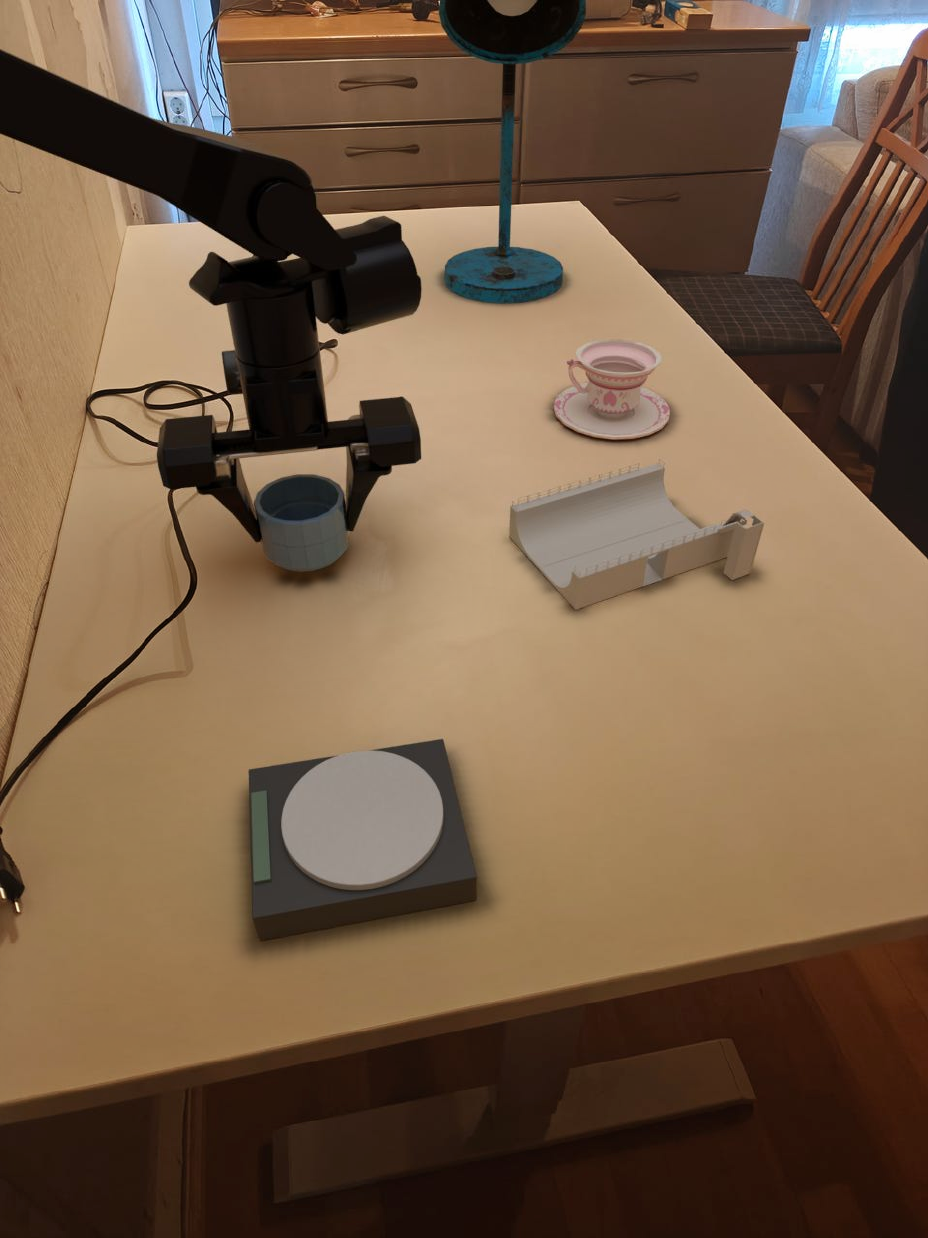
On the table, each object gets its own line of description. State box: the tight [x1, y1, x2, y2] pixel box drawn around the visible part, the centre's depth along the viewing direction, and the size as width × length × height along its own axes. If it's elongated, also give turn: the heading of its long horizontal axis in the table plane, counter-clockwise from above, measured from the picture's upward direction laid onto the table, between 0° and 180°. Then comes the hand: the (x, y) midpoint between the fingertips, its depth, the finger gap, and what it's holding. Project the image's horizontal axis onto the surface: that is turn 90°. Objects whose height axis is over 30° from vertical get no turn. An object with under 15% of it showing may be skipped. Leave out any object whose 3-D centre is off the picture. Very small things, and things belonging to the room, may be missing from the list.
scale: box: [248, 738, 478, 941], centre depth 50 cm, size 12×10×3 cm
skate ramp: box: [508, 458, 765, 611], centre depth 71 cm, size 15×13×5 cm
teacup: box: [553, 339, 671, 441], centre depth 88 cm, size 12×12×6 cm
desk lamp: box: [438, 0, 587, 304], centre depth 101 cm, size 16×22×45 cm
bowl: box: [253, 473, 350, 573], centre depth 69 cm, size 7×7×5 cm
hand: (305, 533), depth 70 cm, fingers closed on bowl, 7 cm apart
